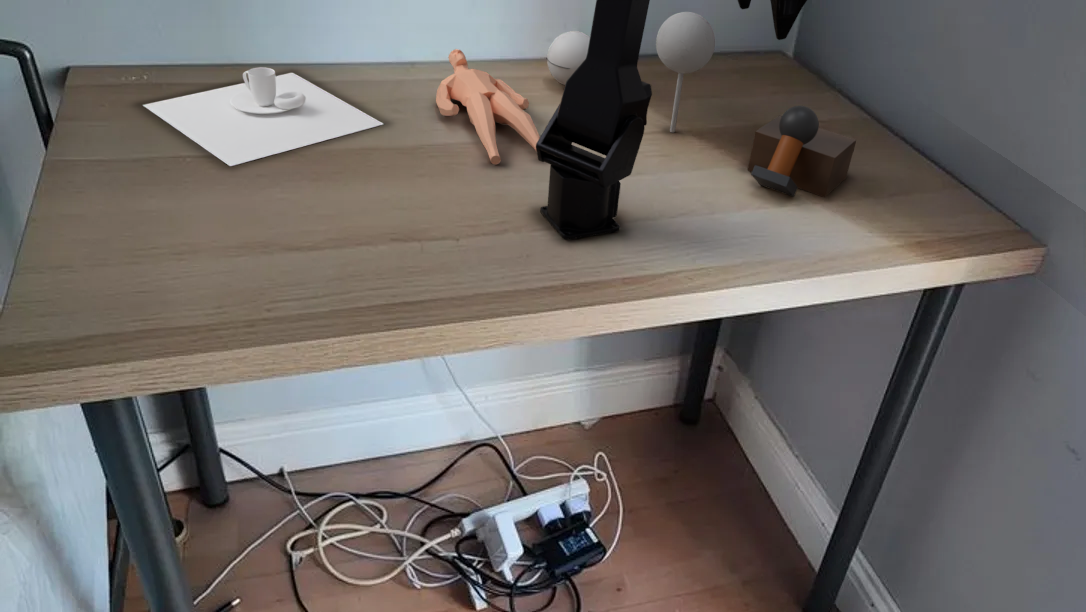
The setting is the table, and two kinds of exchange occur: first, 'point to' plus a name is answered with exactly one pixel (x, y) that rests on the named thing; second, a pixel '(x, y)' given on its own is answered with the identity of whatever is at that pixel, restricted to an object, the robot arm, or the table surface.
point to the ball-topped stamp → (788, 149)
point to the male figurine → (485, 104)
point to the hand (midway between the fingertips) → (762, 23)
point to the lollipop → (684, 48)
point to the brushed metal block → (807, 157)
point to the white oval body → (567, 54)
